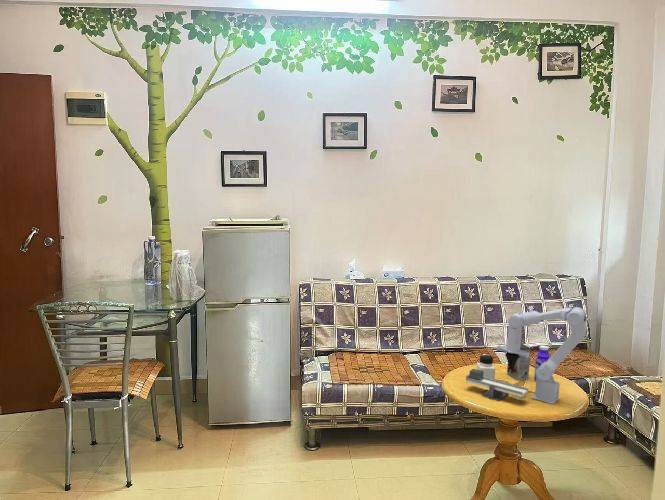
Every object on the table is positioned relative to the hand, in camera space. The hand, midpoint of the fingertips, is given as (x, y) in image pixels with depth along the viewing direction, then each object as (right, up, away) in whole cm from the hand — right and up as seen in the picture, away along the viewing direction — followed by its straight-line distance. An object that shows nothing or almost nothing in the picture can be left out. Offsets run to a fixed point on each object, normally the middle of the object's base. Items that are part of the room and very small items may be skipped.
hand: (511, 368), depth 242 cm
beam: (-9, -9, -5) cm, 13 cm away
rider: (-16, -5, +1) cm, 17 cm away
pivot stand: (-9, -11, -4) cm, 15 cm away
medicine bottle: (-8, -9, +15) cm, 19 cm away
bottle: (+19, -9, +14) cm, 25 cm away
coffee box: (+10, -8, +19) cm, 23 cm away
